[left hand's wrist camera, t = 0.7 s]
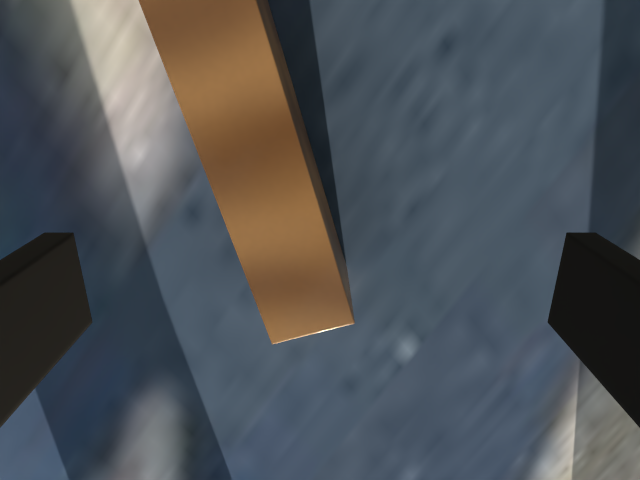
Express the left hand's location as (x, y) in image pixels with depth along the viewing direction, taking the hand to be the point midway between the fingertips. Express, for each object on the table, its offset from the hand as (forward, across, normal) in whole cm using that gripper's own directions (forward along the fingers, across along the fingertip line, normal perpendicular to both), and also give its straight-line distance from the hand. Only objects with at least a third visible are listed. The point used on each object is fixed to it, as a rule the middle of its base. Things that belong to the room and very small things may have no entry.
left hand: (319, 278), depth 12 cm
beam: (+18, +8, -16) cm, 25 cm away
